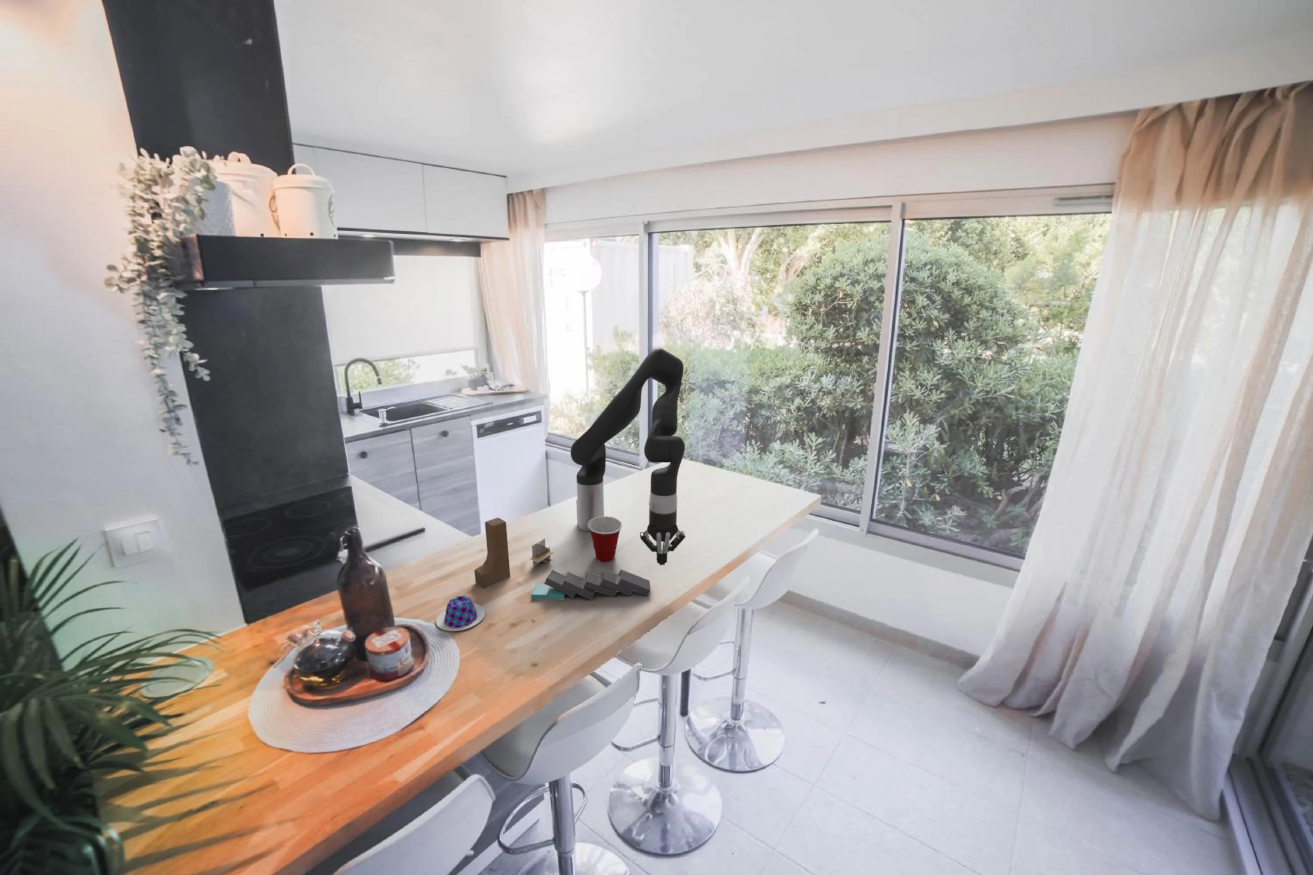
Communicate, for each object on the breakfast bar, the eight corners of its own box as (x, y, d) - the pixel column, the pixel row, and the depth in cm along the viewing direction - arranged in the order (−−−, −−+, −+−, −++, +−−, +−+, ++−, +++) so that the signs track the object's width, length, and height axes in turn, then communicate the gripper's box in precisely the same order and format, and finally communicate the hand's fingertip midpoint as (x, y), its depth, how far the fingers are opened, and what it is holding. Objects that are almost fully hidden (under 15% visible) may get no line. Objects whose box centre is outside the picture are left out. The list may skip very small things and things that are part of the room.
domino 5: (629, 596, 148) (600, 584, 147) (629, 586, 153) (601, 575, 152) (632, 590, 148) (603, 578, 147) (632, 580, 153) (603, 569, 151)
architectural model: (554, 562, 167) (553, 541, 165) (538, 572, 161) (537, 550, 159) (546, 559, 169) (544, 538, 167) (530, 569, 163) (528, 547, 161)
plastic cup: (603, 570, 162) (603, 534, 158) (581, 557, 169) (580, 523, 166) (630, 557, 169) (629, 523, 166) (607, 546, 176) (607, 512, 173)
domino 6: (647, 595, 149) (617, 584, 147) (646, 586, 154) (618, 575, 152) (650, 590, 148) (620, 578, 147) (649, 580, 153) (620, 569, 152)
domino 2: (573, 597, 147) (544, 583, 147) (577, 588, 152) (549, 575, 152) (576, 592, 147) (546, 577, 146) (580, 583, 151) (552, 569, 151)
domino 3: (591, 599, 146) (561, 586, 146) (594, 590, 151) (565, 577, 151) (594, 594, 146) (564, 580, 145) (597, 584, 151) (568, 571, 150)
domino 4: (614, 597, 148) (583, 587, 147) (614, 587, 153) (584, 577, 151) (616, 591, 148) (586, 581, 146) (616, 581, 152) (587, 571, 151)
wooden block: (482, 589, 151) (477, 531, 146) (475, 583, 154) (469, 526, 149) (510, 577, 158) (506, 521, 153) (502, 571, 161) (498, 516, 156)
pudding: (492, 620, 138) (491, 603, 136) (445, 639, 130) (443, 621, 129) (474, 600, 147) (473, 583, 145) (429, 616, 139) (427, 599, 138)
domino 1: (564, 601, 147) (531, 600, 147) (567, 590, 152) (535, 590, 152) (563, 594, 146) (531, 594, 146) (566, 584, 151) (535, 584, 151)
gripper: (639, 513, 141) (639, 571, 146) (689, 512, 142) (687, 569, 147) (637, 501, 148) (637, 557, 153) (685, 500, 149) (683, 556, 154)
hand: (661, 563), depth 150 cm, fingers closed
